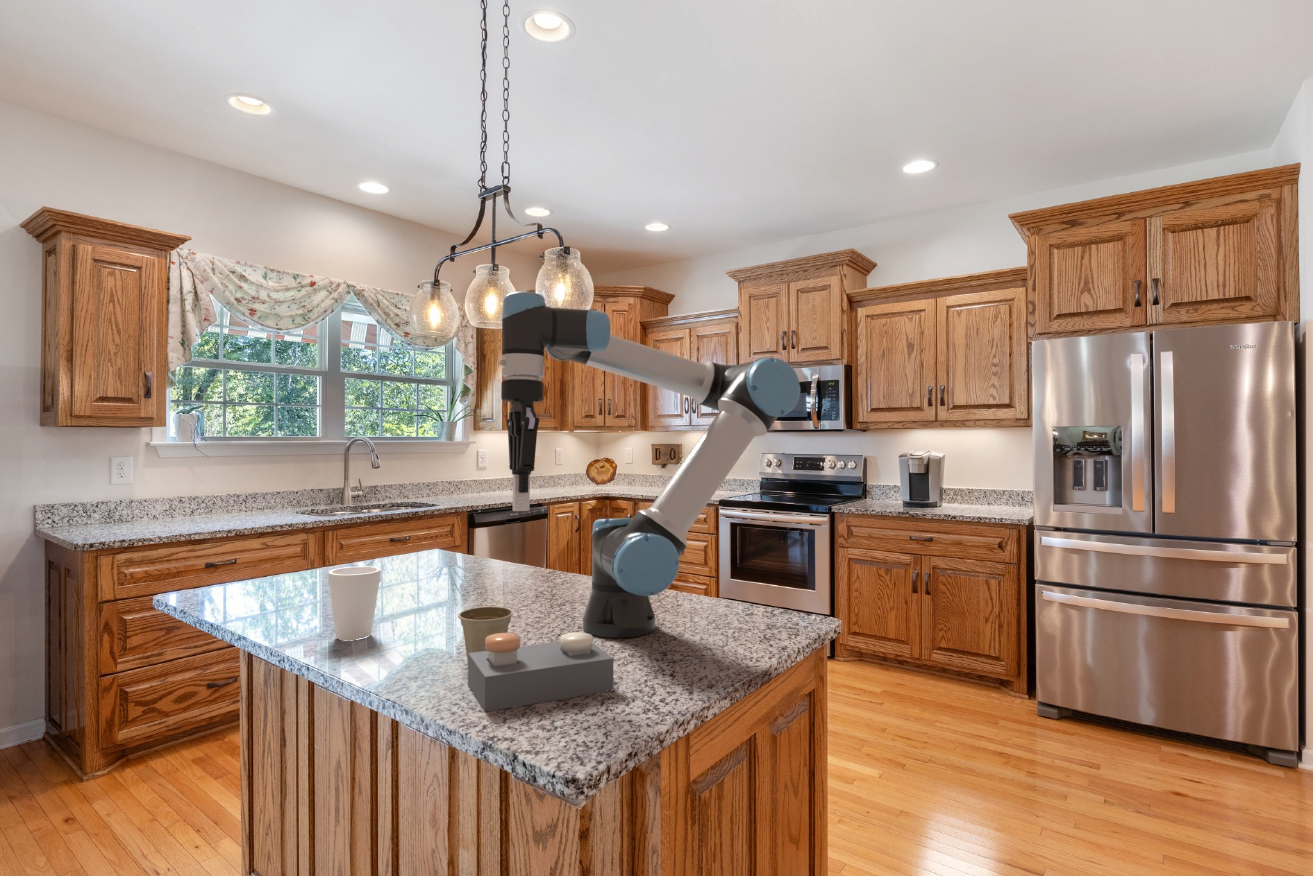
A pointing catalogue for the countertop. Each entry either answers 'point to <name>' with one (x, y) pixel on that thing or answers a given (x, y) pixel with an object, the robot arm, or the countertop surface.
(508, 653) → the terracotta plunger
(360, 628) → the foam cup
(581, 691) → the block
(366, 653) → the countertop surface
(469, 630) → the flower pot
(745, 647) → the countertop surface
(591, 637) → the cream plunger
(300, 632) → the countertop surface
